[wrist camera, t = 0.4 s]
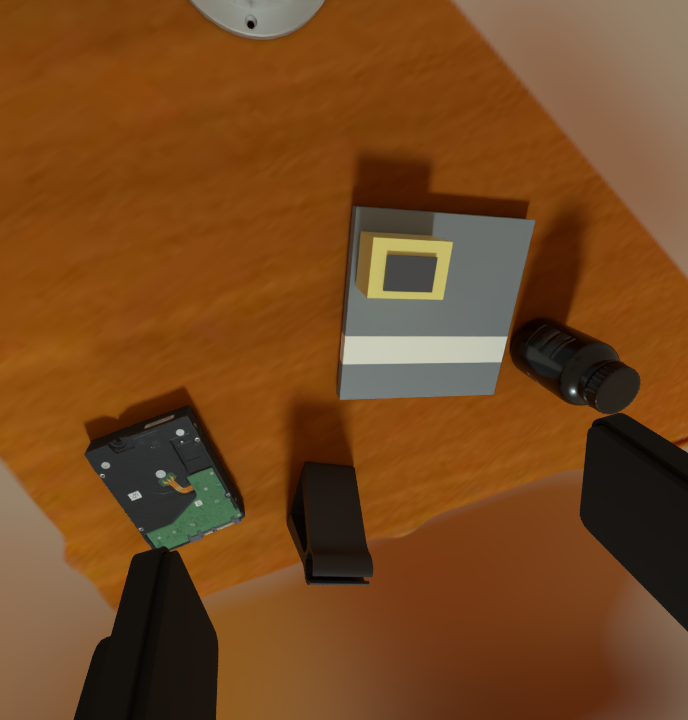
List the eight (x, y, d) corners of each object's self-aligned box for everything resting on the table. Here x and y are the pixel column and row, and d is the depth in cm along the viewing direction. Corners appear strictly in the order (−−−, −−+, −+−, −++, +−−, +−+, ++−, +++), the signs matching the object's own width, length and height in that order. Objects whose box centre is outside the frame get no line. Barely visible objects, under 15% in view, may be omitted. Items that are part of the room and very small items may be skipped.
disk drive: (89, 438, 43) (161, 539, 49) (80, 455, 40) (156, 559, 47) (189, 400, 44) (247, 504, 50) (186, 414, 41) (247, 521, 47)
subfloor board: (352, 205, 39) (356, 206, 38) (526, 218, 43) (535, 220, 42) (336, 393, 46) (339, 399, 45) (486, 388, 50) (493, 394, 49)
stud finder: (360, 231, 38) (374, 237, 34) (433, 235, 40) (454, 242, 36) (355, 286, 40) (368, 298, 36) (425, 288, 42) (444, 300, 38)
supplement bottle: (508, 377, 51) (581, 432, 40) (508, 323, 48) (587, 367, 37) (560, 363, 51) (645, 413, 41) (563, 309, 49) (656, 348, 38)
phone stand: (305, 460, 49) (324, 541, 38) (354, 466, 51) (385, 544, 40) (286, 522, 52) (299, 614, 41) (333, 525, 54) (357, 614, 43)
